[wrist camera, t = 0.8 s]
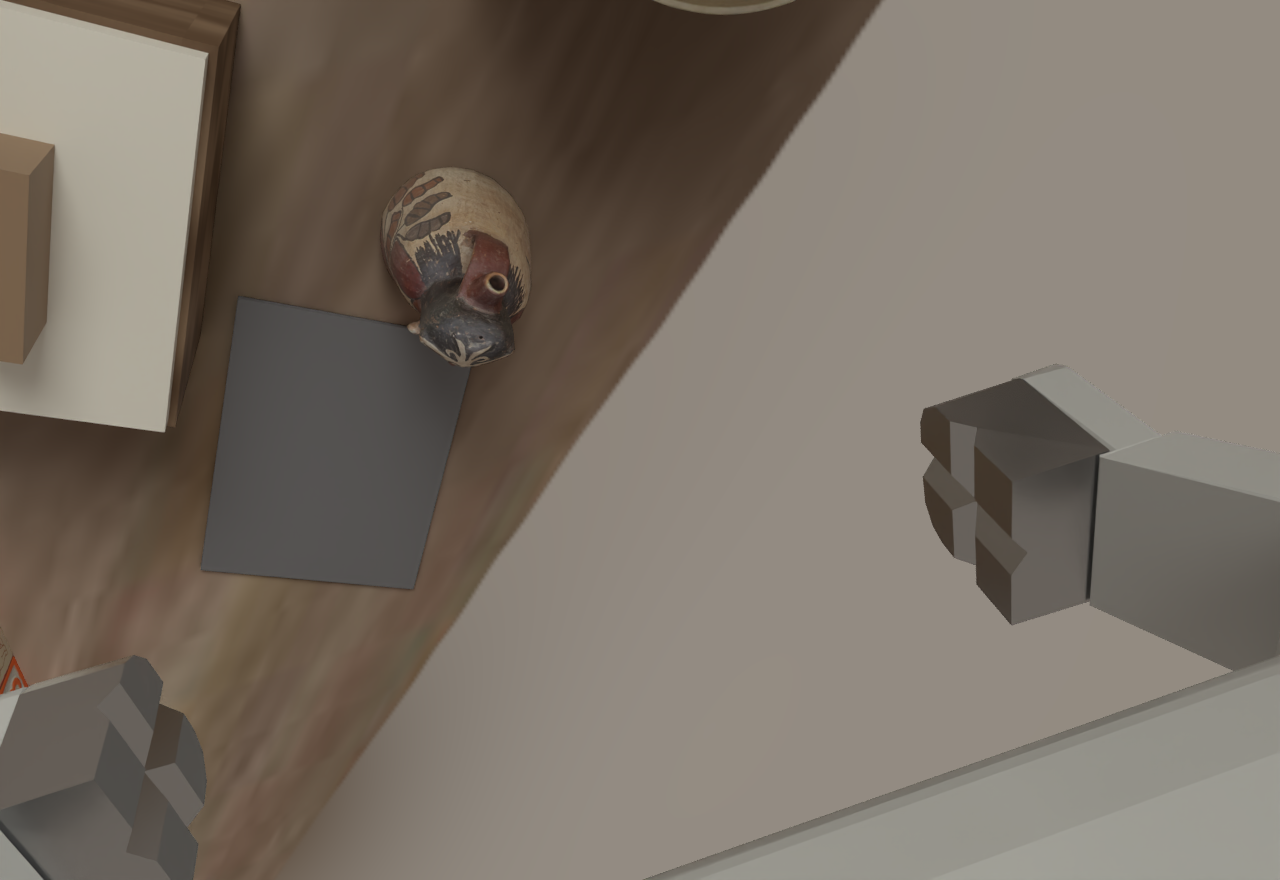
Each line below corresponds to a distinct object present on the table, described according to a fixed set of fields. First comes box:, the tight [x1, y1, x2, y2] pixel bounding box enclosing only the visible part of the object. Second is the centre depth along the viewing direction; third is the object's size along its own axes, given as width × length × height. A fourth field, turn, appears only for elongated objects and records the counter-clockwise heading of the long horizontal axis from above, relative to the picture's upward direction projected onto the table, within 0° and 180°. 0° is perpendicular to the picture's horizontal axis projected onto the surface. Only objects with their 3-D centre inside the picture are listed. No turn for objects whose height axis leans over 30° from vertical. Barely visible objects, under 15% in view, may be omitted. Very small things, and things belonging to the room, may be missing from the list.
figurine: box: [380, 167, 531, 367], centre depth 46 cm, size 7×7×12 cm
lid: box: [0, 0, 209, 432], centre depth 36 cm, size 15×11×4 cm
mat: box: [201, 296, 471, 589], centre depth 56 cm, size 17×12×1 cm
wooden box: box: [3, 0, 241, 427], centre depth 41 cm, size 19×12×10 cm, turn 163°
